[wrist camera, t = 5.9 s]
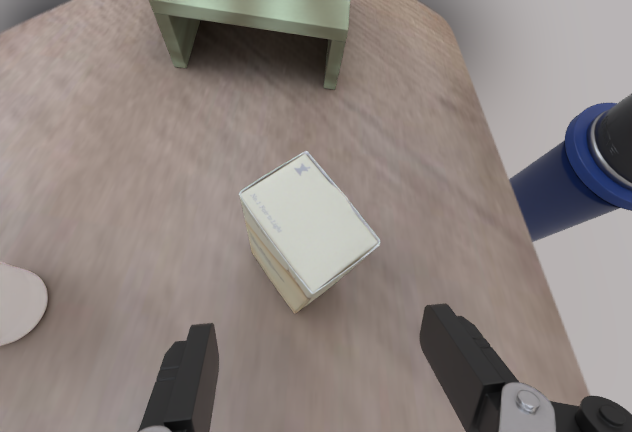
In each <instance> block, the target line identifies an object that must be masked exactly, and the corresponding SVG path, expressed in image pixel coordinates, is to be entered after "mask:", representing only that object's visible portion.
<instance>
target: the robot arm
mask: <svg viewBox="0 0 632 432" xmlns="http://www.w3.org/2000/svg"><path fill="white" fill-rule="evenodd" d="M587 144H588V148H589V151H590V154H591V156H592V158H593V159H594V161H595V163H596V164H597V165H598V167H599V168H600V169H601V170H602V171H603V172H604V173H605V174H606V175H607V176H608V177H609V178H610V179H611V180H613V181H614V182H615V183H617V184H619V185H620V186H622V187H624V188H626V189H628V190H630V191H632V94H631V95H630V96H628V97H626V98H625V99H623V100H622V101H621V102H619V103H618V104H616V105H615V106H613V107H612V108H611V109H609V110H607V111H605V112H603V113H602V114H600V115H599V116H597V117H596V118H595V119H594V120H593V121H592V122H591V123H590V125H589V127H588V130H587ZM420 344H421V348H422V351H423V353H424V355H425V356H426V358H427V360H428V362H429V364H430V366H431V368H432V369H433V371H434V373H435V375H436V377H437V379H438V381H439V382H440V384H441V386H442V388H443V390H444V392H445V394H446V395H447V397H448V399H449V401H450V403H451V405H452V407H453V408H454V410H455V412H456V414H457V416H458V418H459V420H460V421H461V423H462V425H463V427H464V429H465V431H466V432H632V415H631V414H630V413H629V412H628V411H627V410H626V409H624V408H623V407H622V406H620V405H618V404H617V403H615V402H613V401H611V400H609V399H606V398H603V397H599V396H587V397H585V398H584V399H583V400H582V402H581V404H580V406H574V405H568V404H563V403H557V402H552V401H549V400H548V399H547V398H546V397H545V396H544V395H543V394H542V393H541V392H540V391H538V390H537V389H535V388H533V387H531V386H529V385H527V384H524V383H520V382H519V381H518V380H517V379H516V377H515V376H514V375H513V374H512V372H511V371H510V370H509V369H508V367H507V366H506V365H505V364H504V362H503V361H502V360H501V358H500V357H499V356H498V355H497V353H496V352H495V351H494V350H493V348H492V347H490V344H489V343H488V342H487V341H486V339H485V338H483V336H482V334H481V333H480V332H479V331H478V329H477V328H476V327H475V325H473V324H472V323H471V322H469V321H468V320H467V319H465V318H464V317H462V316H456V315H455V313H454V312H453V311H452V309H451V308H450V307H449V306H448V305H447V304H435V305H427V306H426V307H425V309H424V314H423V320H422V325H421V331H420ZM218 372H219V353H218V347H217V340H216V334H215V327H214V324H213V323H208V324H197V325H191V327H190V330H189V333H188V337H187V341H177V342H175V343H174V344H173V345H172V346H171V348H170V349H169V350H168V351H167V352H166V354H165V356H164V359H163V362H162V365H161V367H160V371H159V373H158V376H157V381H156V382H155V385H154V388H153V391H152V394H151V396H150V399H149V402H148V405H147V408H146V411H145V414H144V417H143V420H142V423H141V425H140V428H139V430H138V432H209V431H210V424H211V418H212V411H213V405H214V398H215V391H216V385H217V378H218Z"/></svg>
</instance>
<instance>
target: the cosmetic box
mask: <svg viewBox="0 0 632 432" xmlns="http://www.w3.org/2000/svg"><path fill="white" fill-rule="evenodd" d="M239 197H240V200H241V205H242V209H243V214H244V218H245V222H246V227H247V232H248V236H249V241H250V246H251V251H252V254H253V255H254V257H255V258H256V260H257V261H258V263H259V264H260V266H261V267H262V269H263V270H264V272H265V273H266V275H267V276H268V278H269V279H270V280H271V282H272V283H273V285H274V286H275V288H276V289H277V290H278V292H279V293H280V295H281V296H282V297H283V299H284V300H285V302H286V303H287V304H288V306H289V307H290V309H291V310H292V311H293V313H297V312H298V311H300V310H301V309H302V308H304V307H305V306H307V305H308V304H309V303H311V302H312V301H313V300H315V299H316V298H317V297H319V296H320V295H321V294H323V293H324V292H325V291H326V290H328V289H329V288H330V287H332V286H333V285H334V284H335V283H336V282H338V281H339V280H340V279H341V278H342V277H343V276H344V275H346V274H347V273H348V272H349V271H350V270H351V269H353V268H354V267H355V266H356V265H357V264H359V263H360V262H361V261H362V260H363V259H364V258H365V257H367V256H368V255H369V254H370V253H371V252H373V251H374V250H375V249H376V248H377V247H379V245H380V239H379V238H378V237H377V235H376V234H375V233H374V232H373V230H372V229H371V228H370V226H369V225H368V224H367V222H366V221H365V220H364V219H363V218H362V216H361V215H360V214H359V213H358V211H357V210H356V209H355V208H354V206H353V205H352V204H351V202H350V201H349V200H348V199H347V197H346V196H345V195H344V194H343V193H342V191H341V190H340V189H339V188H338V187H337V186H336V184H335V183H334V182H333V181H332V180H331V178H330V177H329V176H328V175H327V174H326V173H325V171H324V170H323V169H322V168H321V167H320V165H319V164H318V163H317V162H316V161H315V160H314V158H313V157H312V156H311V155H310V154H309V152H308V151H305V152H303V153H301V154H300V155H298V156H296V157H294V158H293V159H291V160H289V161H288V162H286V163H284V164H283V165H280V166H279V167H277V168H276V169H274V170H273V171H271V172H269V173H268V174H266V175H264V176H263V177H261V178H259V179H258V180H256V181H255V182H253V183H252V184H250V185H249V186H247V187H246V188H244V189H242V190H241V191H240V192H239Z"/></svg>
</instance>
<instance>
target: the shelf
mask: <svg viewBox="0 0 632 432" xmlns="http://www.w3.org/2000/svg"><path fill="white" fill-rule="evenodd" d="M149 2H150V5H151V7H152V10H153V12H154V15H155V17H156V20H157V23H158V25H159V28H160V30H161V33H162V36H163V38H164V41H165V43H166V46H167V49H168V51H169V54H170V56H171V59H172V62H173V64H174V66H175V67H180V68H187V65H188V61H189V58H190V54H191V51H192V47H193V44H194V41H195V37H196V34H197V30H198V27H199V23H200V20H206V21H212V22H219V23H225V24H232V25H238V26H245V27H252V28H258V29H265V30H271V31H278V32H284V33H291V34H298V35H304V36H311V37H317V38H324V39H328V47H327V58H326V68H325V78H324V88H327V89H334V90H335V88H336V83H337V79H338V74H339V70H340V65H341V61H342V56H343V52H344V47H345V43H346V38H347V33H348V26H349V12H350V0H149Z"/></svg>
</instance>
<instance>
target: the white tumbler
mask: <svg viewBox="0 0 632 432" xmlns="http://www.w3.org/2000/svg"><path fill="white" fill-rule="evenodd" d="M47 302H48V293H47V289H46V286H45V284H44V282H43V281H42V280H41V278H40V277H39V276H37V275H36V274H35V273H33V272H31V271H29V270H26V269H23V268H19V267H16V266H12V265H9V264H7V263H4V262H2V261H0V346H1V345H5V344H9V343H11V342H14V341H16V340H18V339H20V338H22V337H23V336H25V335H26V334H27V333H29V332H30V331H31V330H32V329H33V328H34V327H35V326H36V325H37V324H38V322H39V321H40V320H41V318H42V316H43V315H44V312H45V310H46V307H47Z"/></svg>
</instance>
